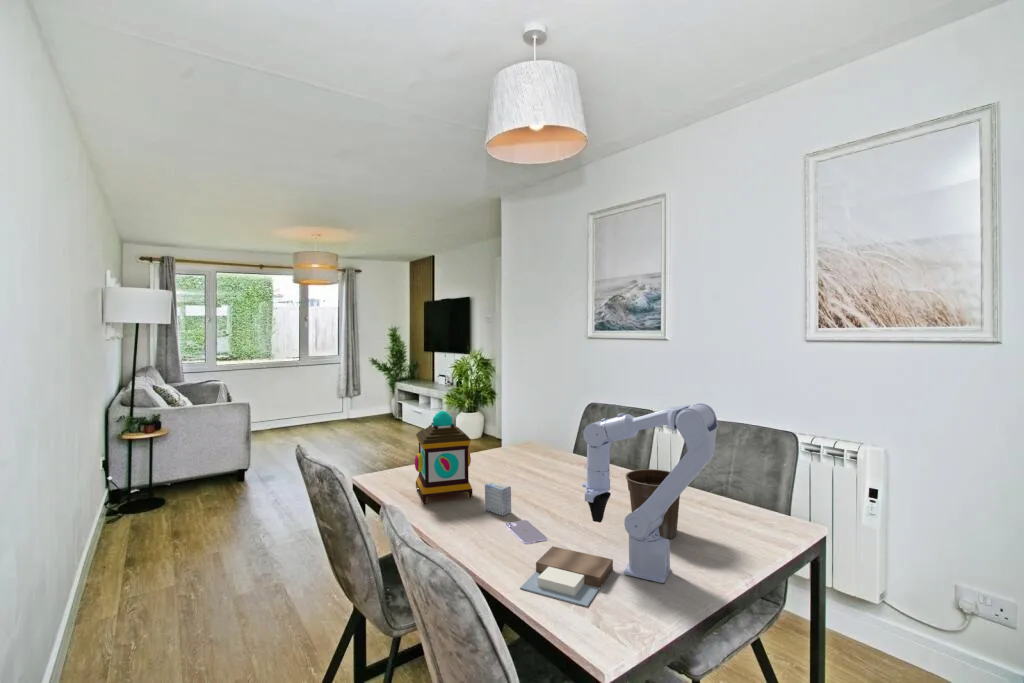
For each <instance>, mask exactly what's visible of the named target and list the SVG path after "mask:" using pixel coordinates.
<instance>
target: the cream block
mask: <svg viewBox="0 0 1024 683" xmlns="http://www.w3.org/2000/svg"><path fill="white" fill-rule="evenodd" d="M583 585H584V575H581V574H577V573H573V572H569V571H565V570H561V569H557V568H553V567H549V566H548V568H547V569H546V570H545V571H544V572H543V573H542V574H541V575H540V576H539V577H538V586H539V587H543V588H546V589H550V590H553V591H557V592H561V593H564V594H568V595H572V596H575V595H576V594H577V593H578V591H579V590H580V589H581V587H582V586H583Z"/></svg>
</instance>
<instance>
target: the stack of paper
mask: <svg viewBox="0 0 1024 683" xmlns="http://www.w3.org/2000/svg"><path fill="white" fill-rule="evenodd" d="M484 510H485V511H486V510H488V511H487V512H489V511H491V512H490V513H492V512H494V513H493V514H495V513H496V514H495V515H498V514H499V515H498V516H501V515H502V516H501V517H503V515H504V516H506V514H507V515H508V513H509V514H511V513H512V487H511V486H510V485H508V484H503V483H500V482H496V481H492V482H489V483H486V484H485V485H484ZM510 512H511V513H510Z"/></svg>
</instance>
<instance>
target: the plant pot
mask: <svg viewBox="0 0 1024 683" xmlns="http://www.w3.org/2000/svg"><path fill="white" fill-rule="evenodd" d="M670 472H671V471H667V470H663V469H650V468H647V469H646V468H644V469H643V468H642V469H635V470H631V471H628V472H627V473H626V474H625V475H624V476H625V479H626V481H627V487H628V488H627V489H628V492H629V497H630V498H629V499H630V506H631V507H630V509H631V513H632V512H633V511H635V510H636V509H638V508H639V507H640V506H641V505H642V504H643V503H644V502H645V501H646V500H647V499H648V498H649V497H650V496H651V495H652V494H653V493H654V491H655V490H656V489H657V488H658V487H659V485H660V484H661V483H662V482H663V481H664V479H665V478H666V477H667V476H668V475H669V473H670ZM680 496H681V494H680V495H679V497H678V498H677V499H676V500H675V501H674V502H673V503H672V505H671V506H670V507H669V508H668V511H667V512H666V513H665V514H664V517H663V522H662V524H661V525H660V526H659V534H660V536H661V537H663V538H665V539H668V540H670V539H673V538H675V537H676V535H677V534H678V522H679V512H680V511H679V509H680Z"/></svg>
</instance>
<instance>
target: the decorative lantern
mask: <svg viewBox="0 0 1024 683" xmlns="http://www.w3.org/2000/svg"><path fill="white" fill-rule="evenodd" d="M432 417H433V418H432V422H431V424H430V425H428V427H426V428H421V429H420V430H419V431H417V433H416V434H415V436H416V439H417V441H418V453H417V454H416V455H415V457H414V467H415V470H416V472H418V475H417V477H416V480H415V488H416V489H417V488H419V490H418V491H419V492H420V494H421V501H422V504H423V503H426V504H427V501H428V500H427V499H428V497H430V496H431V497H432V496H440V495H448V494H459V493H464V492H465V493H466V494H467V498H468V497H469V498H471V497H473V488H472V485H471V483H470V480H469V479H470V478H469V467H470V466H471V462H472V461H471V460H472V458H471V453H470V450H469V446H470V444H471V441H472V439H471V437H469V435H468V434H466V433H465V432H464V431H463V430H462V429H461V428H460V427H458V426H456V425H455V424H454V423H453V417H452V415H451V414H450V413H449V412H448V411H446V410H440V411H438V412H437V413H436V414H434V416H432ZM469 498H468V499H469ZM471 499H472V498H471Z"/></svg>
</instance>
